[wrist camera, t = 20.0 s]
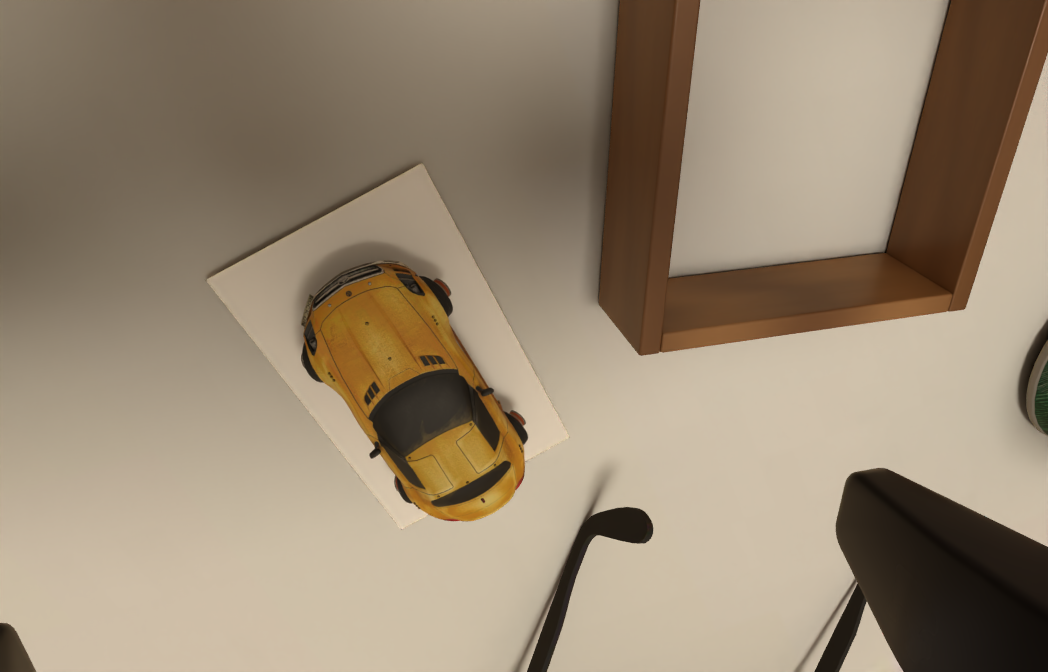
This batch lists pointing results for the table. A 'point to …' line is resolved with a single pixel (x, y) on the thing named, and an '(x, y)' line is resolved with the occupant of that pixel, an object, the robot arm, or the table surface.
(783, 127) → the table surface
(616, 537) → the sunglasses
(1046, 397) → the canned tomato
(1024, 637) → the robot arm
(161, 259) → the table surface
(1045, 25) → the box
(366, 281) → the toy car
